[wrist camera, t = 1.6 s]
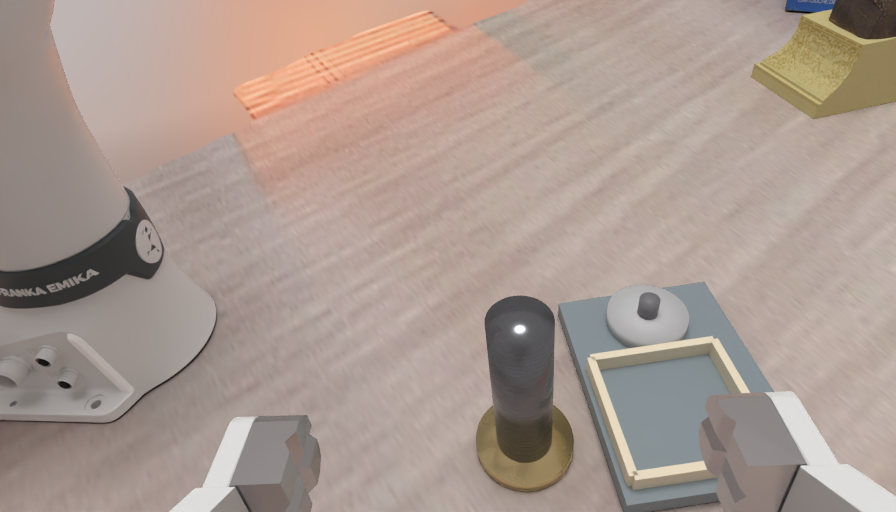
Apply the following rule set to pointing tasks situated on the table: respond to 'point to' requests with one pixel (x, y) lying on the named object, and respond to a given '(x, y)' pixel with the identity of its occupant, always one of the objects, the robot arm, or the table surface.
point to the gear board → (656, 385)
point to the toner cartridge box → (810, 5)
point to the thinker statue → (837, 59)
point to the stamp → (523, 399)
